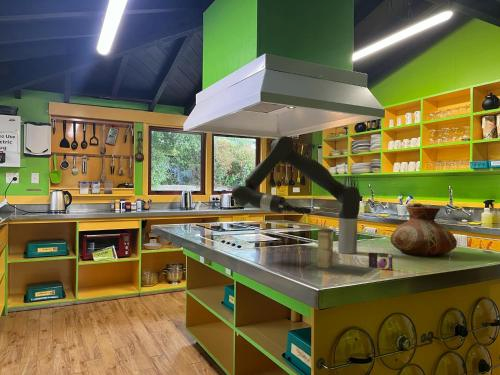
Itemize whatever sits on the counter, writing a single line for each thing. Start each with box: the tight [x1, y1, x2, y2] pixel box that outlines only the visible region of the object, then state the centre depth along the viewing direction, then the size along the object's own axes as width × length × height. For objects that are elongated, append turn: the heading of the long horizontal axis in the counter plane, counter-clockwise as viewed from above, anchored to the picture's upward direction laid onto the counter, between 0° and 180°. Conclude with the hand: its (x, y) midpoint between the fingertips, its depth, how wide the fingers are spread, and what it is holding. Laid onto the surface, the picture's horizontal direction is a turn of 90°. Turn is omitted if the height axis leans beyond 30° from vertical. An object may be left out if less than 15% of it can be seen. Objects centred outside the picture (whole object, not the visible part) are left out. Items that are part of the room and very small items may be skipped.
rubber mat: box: [303, 261, 374, 277], centre depth 150 cm, size 16×24×1 cm
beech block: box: [317, 228, 334, 268], centre depth 153 cm, size 6×4×15 cm, turn 146°
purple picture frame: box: [368, 251, 393, 271], centre depth 154 cm, size 7×5×9 cm
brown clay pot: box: [389, 202, 458, 258], centre depth 189 cm, size 30×30×25 cm
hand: (307, 211), depth 159 cm, fingers open, 8 cm apart
